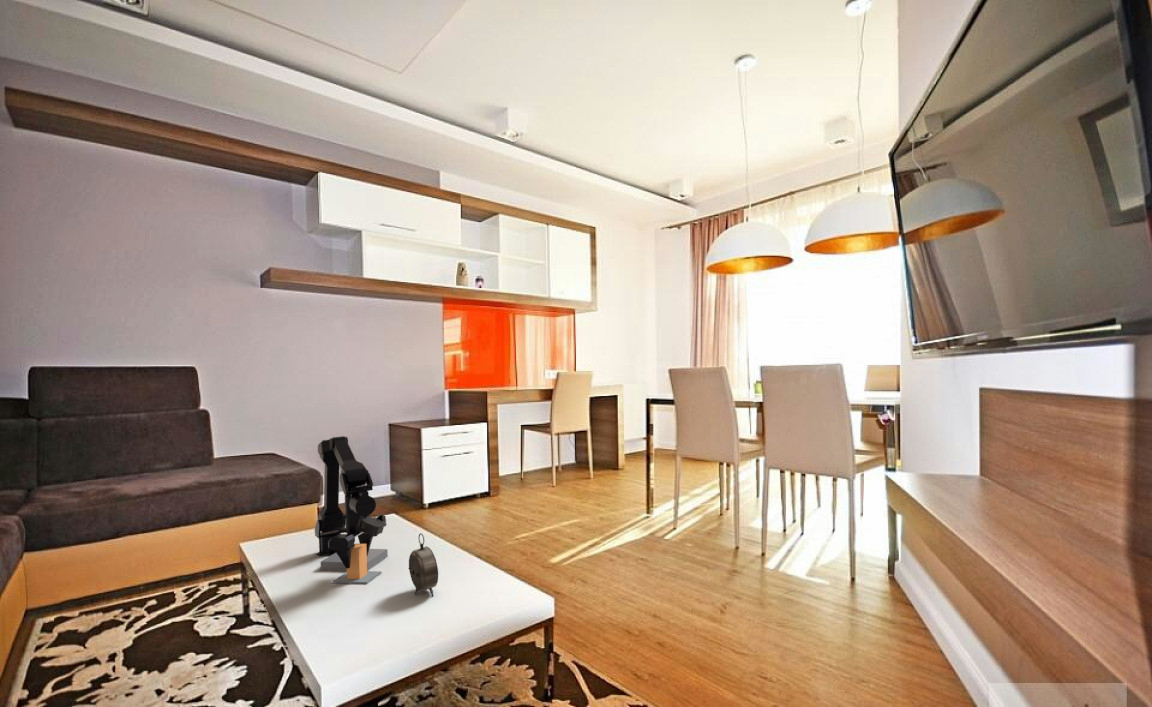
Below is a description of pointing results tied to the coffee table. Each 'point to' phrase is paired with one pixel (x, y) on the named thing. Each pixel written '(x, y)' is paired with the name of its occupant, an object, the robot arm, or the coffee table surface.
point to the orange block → (358, 562)
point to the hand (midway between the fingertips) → (356, 562)
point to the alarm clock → (423, 568)
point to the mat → (363, 580)
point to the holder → (336, 564)
